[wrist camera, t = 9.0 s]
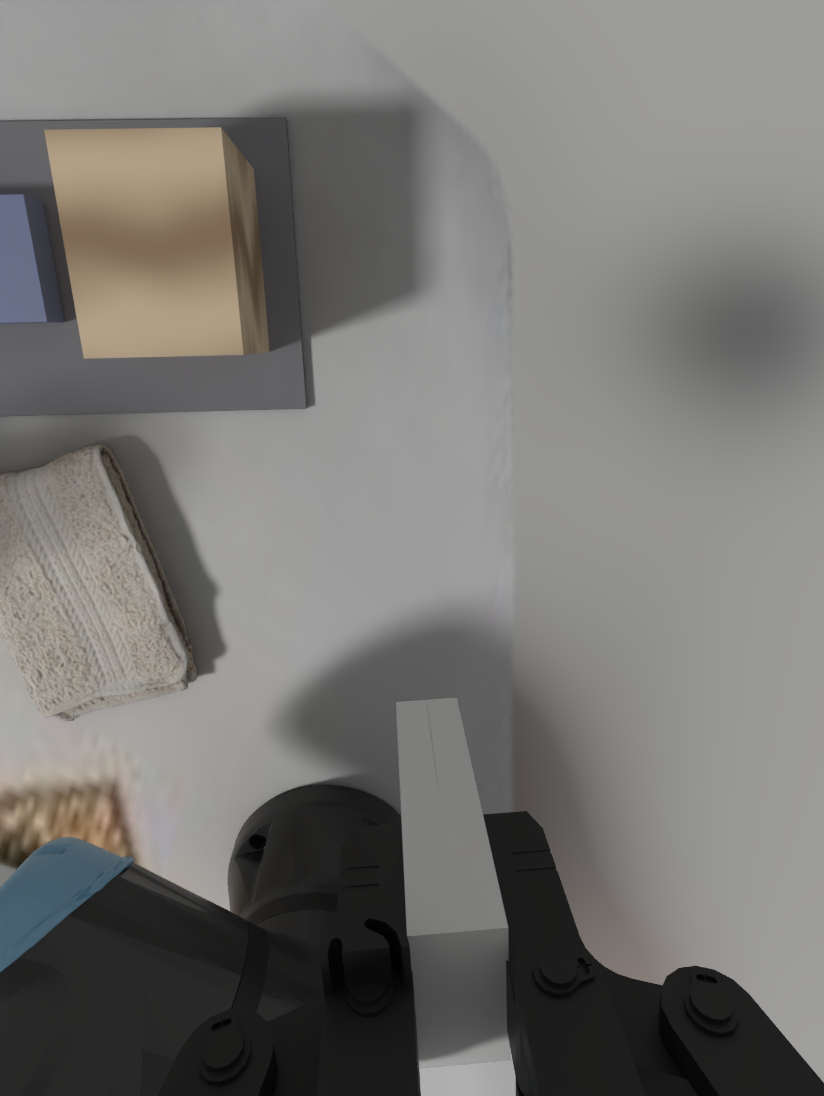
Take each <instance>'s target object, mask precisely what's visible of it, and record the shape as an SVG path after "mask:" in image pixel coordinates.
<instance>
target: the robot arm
mask: <svg viewBox="0 0 824 1096" xmlns="http://www.w3.org/2000/svg"><path fill="white" fill-rule="evenodd" d="M396 716H397V737H398V758H399V779H400V800H401V816H400V815H399V814H398V813H397V812H396V811H395V810H394V809H393V808H392V807H390V806H389V805H388V804H386V803H385V802H383V801H382V800H380V799H378V798H376V797H374V796H372V795H370V794H367V793H365V792H362V791H359V790H356V789H352V788H347V787H341V786H328V785H327V786H310V787H304V788H299V789H295V790H292V791H289V792H286V793H284V794H281V795H279V796H277V797H275V798H273V799H271V800H270V801H268V802H266V803H265V804H263V805H262V806H261V807H260V808H258V809H257V810H256V811H255V812H254V813H253V814H252V815H251V816H250V817H249V818H248V820H247V821H246V822H245V824H244V825H243V827H242V828H241V830H240V832H239V834H238V837H237V839H236V843H235V846H234V849H233V853H232V856H231V859H230V863H229V869H228V892H229V901H230V911H231V912H230V911H228V910H226V909H224V908H222V907H220V906H218V905H216V904H214V903H212V902H210V901H208V900H206V899H204V898H202V897H200V896H198V895H196V894H194V893H192V892H190V891H188V890H186V889H184V888H182V887H180V886H178V885H176V884H174V883H172V882H170V881H168V880H166V879H164V878H163V877H161V876H159V875H157V874H155V873H153V872H151V871H149V870H147V869H145V868H143V867H141V866H139V865H137V864H135V863H133V862H134V861H135V860H134V859H133V858H132V857H130V856H126V857H121V856H118V855H116V854H114V853H111V852H109V851H107V850H104V849H102V848H100V847H97V846H95V845H93V844H90V843H88V842H86V841H83V840H81V839H78V838H72V837H64V838H58V839H55V840H52V841H50V842H47V843H46V844H44V845H42V846H41V847H39V848H38V849H37V850H36V851H34V852H33V853H32V854H31V855H30V856H29V857H28V858H27V859H26V860H25V861H24V862H23V863H22V865H21V866H20V867H19V868H18V869H17V870H16V871H15V872H14V873H13V874H12V875H11V876H10V877H9V879H8V880H7V881H6V882H5V883H4V884H3V885H2V886H1V887H0V1096H421V1092H420V1076H419V1068H430V1067H441V1066H452V1065H463V1064H473V1063H484V1062H495V1061H506V1060H510V1048H511V1054H512V1059H513V1064H514V1069H515V1075H516V1096H824V1083H823V1082H822V1080H821V1079H820V1078H819V1077H818V1076H817V1074H816V1073H815V1072H814V1071H813V1070H812V1069H811V1067H810V1066H809V1065H808V1064H807V1063H806V1061H805V1060H804V1059H803V1058H802V1057H801V1055H800V1054H799V1053H798V1052H797V1051H796V1049H795V1048H794V1047H793V1046H792V1045H791V1044H790V1043H789V1041H788V1040H787V1039H786V1038H785V1036H784V1035H783V1034H782V1033H781V1032H780V1031H779V1029H778V1028H777V1027H776V1026H775V1025H774V1023H773V1022H772V1021H771V1020H770V1019H769V1017H768V1016H767V1015H766V1014H765V1013H764V1011H763V1010H762V1009H761V1008H760V1007H759V1005H758V1004H757V1003H756V1002H755V1001H754V1000H753V998H752V997H751V996H750V995H749V994H748V993H747V992H746V991H745V990H744V989H743V988H742V987H741V986H739V985H738V984H737V983H736V982H735V981H734V980H733V979H731V978H729V977H727V976H725V975H723V974H721V973H719V972H718V971H716V970H713V969H708V968H703V967H699V966H691V967H683V968H679V969H677V970H676V971H674V972H673V973H671V974H670V975H668V976H667V978H666V979H665V982H664V984H663V986H662V985H658V984H653V983H649V982H644V981H640V980H635V979H631V978H628V977H625V976H622V975H619V974H617V973H615V972H613V971H611V970H609V969H608V968H606V967H604V966H603V965H602V964H601V963H599V962H598V961H597V960H596V959H595V958H594V957H593V956H592V955H591V954H590V953H589V951H588V950H587V949H586V948H585V946H584V944H583V942H582V940H581V938H580V936H579V933H578V930H577V927H576V924H575V922H574V918H573V915H572V913H571V910H570V907H569V904H568V901H567V898H566V895H565V892H564V889H563V886H562V883H561V880H560V877H559V875H558V872H557V871H556V866H555V863H554V860H553V857H552V854H551V853H550V848H549V845H548V842H547V840H546V837H545V834H544V831H543V828H542V827H540V825H539V824H538V823H537V822H536V821H535V820H534V819H533V818H532V817H531V816H530V814H529V813H528V812H527V811H524V812H510V813H498V814H485V815H483V812H482V808H481V803H480V799H479V794H478V790H477V786H476V781H475V777H474V772H473V768H472V763H471V759H470V754H469V750H468V745H467V741H466V736H465V732H464V727H463V723H462V719H461V714H460V710H459V705H458V701H457V697H455V698H442V699H429V700H415V701H402V702H396Z"/></svg>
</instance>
